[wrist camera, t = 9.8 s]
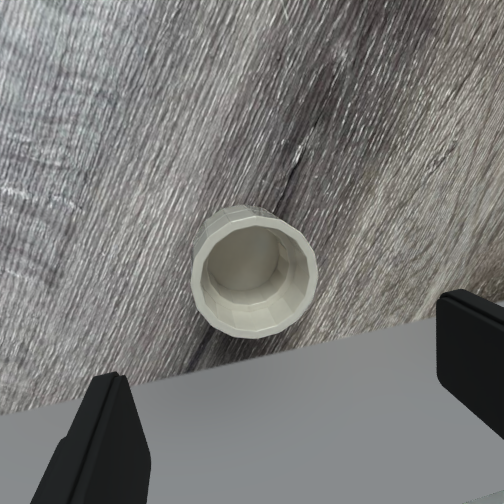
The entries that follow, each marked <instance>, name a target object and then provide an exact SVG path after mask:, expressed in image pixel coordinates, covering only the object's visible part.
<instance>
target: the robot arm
mask: <svg viewBox="0 0 504 504" xmlns="http://www.w3.org/2000/svg"><path fill="white" fill-rule="evenodd" d="M436 349H437V350H436V351H437V352H436V354H437V356H436V357H437V377H438V380H439V382H440V383H441V384H442V386H443V387H444V388H446V389H447V390H448V391H449V392H450V393H451V394H452V395H453V396H455V397H456V398H457V399H458V400H459V401H460V402H461V403H463V404H464V405H465V406H466V407H467V408H468V409H469V410H470V411H472V412H473V413H474V414H475V415H476V416H477V417H478V418H480V419H481V420H482V421H483V422H484V423H485V424H486V425H488V426H489V427H490V428H491V429H492V430H493V431H494V432H496V433H497V434H498V435H499V436H500V437H501V438H502V439H504V307H501V306H499V305H497V304H495V303H493V302H490V301H488V300H486V299H484V298H482V297H480V296H477V295H475V294H473V293H471V292H469V291H466V290H464V289H458V290H454V291H449V292H445V293H443V294H441V296H440V299H438V300H437V302H436ZM150 471H151V457H150V452H149V448H148V445H147V442H146V438H145V435H144V432H143V429H142V425H141V422H140V419H139V416H138V412H137V409H136V406H135V403H134V400H133V397H132V393H131V390H130V387H129V383H128V380H127V378H126V376H125V375H122V376H119V374H118V373H117V372H116V371H115V372H111V373H107V374H103V375H99V376H95V377H93V379H92V381H91V383H90V385H89V387H88V389H87V392H86V394H85V396H84V398H83V400H82V403H81V405H80V407H79V410H78V412H77V414H76V416H75V418H74V420H73V423H72V425H71V427H70V429H69V432H68V434H67V436H66V437H64V438H63V439H61V440H60V442H59V444H58V445H57V447H56V450H55V451H54V454H53V456H52V458H51V460H50V462H49V464H48V467H47V469H46V471H45V473H44V475H43V477H42V479H41V481H40V484H39V486H38V488H37V490H36V492H35V494H34V497H33V498H32V501H31V503H30V504H146V503H147V495H148V486H149V479H150ZM463 504H504V490H503V491H500V492H497V493H494V494H491V495H488V496H485V497H482V498H479V499H476V500H473V501H470V502H466V503H463Z"/></svg>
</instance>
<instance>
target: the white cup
mask: <svg viewBox="0 0 504 504" xmlns="http://www.w3.org/2000/svg"><path fill="white" fill-rule="evenodd" d="M317 281H318V270H317V263H316V257H315V254H314V251H313V249H312V248H311V246H310V245H309V243H308V242H307V240H306V239H305V237H304V235H303V234H302V233H301V232H299V231H298V230H296V229H295V228H293V227H292V226H290V225H289V224H287V223H286V222H284V221H283V220H281V219H279V218H278V217H276V216H275V215H273V214H272V213H270V212H269V211H267V210H266V209H264V208H262V207H256V206H250V205H244V204H243V205H237V206H232V207H228V208H224V209H221V210H220V211H218V212H217V213H215V214H214V215H213V216H211V217H210V218H208V219H207V220H206V221H205V222H204V223H203V225H202V226H201V228H200V230H199V231H198V233H197V234H196V236H195V238H194V241H193V247H192V254H191V272H190V286H191V290H192V294H193V297H194V301H195V304H196V307H197V309H198V310H199V312H200V313H201V314H202V315H203V316H204V318H205V319H206V320H207V321H208V322H209V324H210V325H211V326H212V327H214V328H216V329H218V330H220V331H222V332H224V333H226V334H228V335H230V336H232V337H238V338H249V339H259V338H263V337H266V336H270V335H274V334H277V333H279V332H282V331H283V330H285V329H286V328H287V327H289V326H290V325H292V324H293V323H294V322H296V321H297V320H299V318H300V317H301V316H302V315H303V313H304V312H305V310H306V309H307V307H308V306H309V304H310V303H311V302H312V300H313V298H314V293H315V289H316V285H317Z"/></svg>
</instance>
